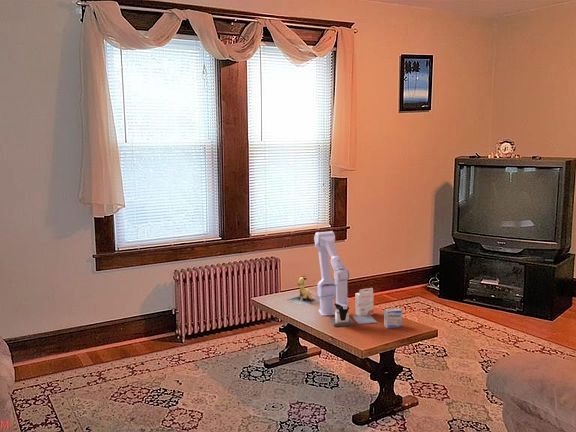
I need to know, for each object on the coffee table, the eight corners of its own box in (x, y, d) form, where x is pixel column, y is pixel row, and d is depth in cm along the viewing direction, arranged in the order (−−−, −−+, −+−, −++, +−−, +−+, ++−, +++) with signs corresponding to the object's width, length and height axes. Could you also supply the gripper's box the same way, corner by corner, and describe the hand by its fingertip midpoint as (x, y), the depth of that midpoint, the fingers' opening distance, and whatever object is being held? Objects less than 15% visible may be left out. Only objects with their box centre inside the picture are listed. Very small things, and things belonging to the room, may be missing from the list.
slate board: (352, 317, 295) (352, 316, 295) (370, 316, 296) (370, 315, 296) (358, 324, 284) (358, 323, 284) (376, 323, 285) (376, 321, 285)
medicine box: (387, 328, 277) (387, 311, 276) (383, 325, 282) (383, 309, 280) (402, 327, 279) (402, 310, 277) (398, 324, 283) (398, 307, 282)
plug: (335, 322, 288) (335, 309, 287) (346, 321, 289) (346, 308, 288) (337, 325, 284) (336, 311, 283) (348, 324, 285) (348, 310, 284)
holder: (330, 321, 289) (330, 318, 289) (349, 320, 291) (349, 317, 291) (334, 326, 282) (334, 323, 281) (353, 325, 283) (353, 322, 283)
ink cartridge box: (369, 312, 303) (369, 285, 301) (373, 314, 298) (373, 287, 296) (355, 314, 300) (354, 287, 298) (359, 317, 295) (359, 289, 293)
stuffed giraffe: (286, 300, 328) (287, 273, 325) (310, 295, 339) (311, 269, 336) (303, 307, 315) (304, 280, 313) (328, 302, 326) (329, 275, 324)
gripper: (353, 296, 277) (353, 322, 279) (345, 288, 292) (345, 313, 294) (339, 297, 276) (339, 323, 278) (332, 289, 290) (332, 314, 292)
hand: (341, 318), depth 286 cm, fingers closed on plug, 4 cm apart
